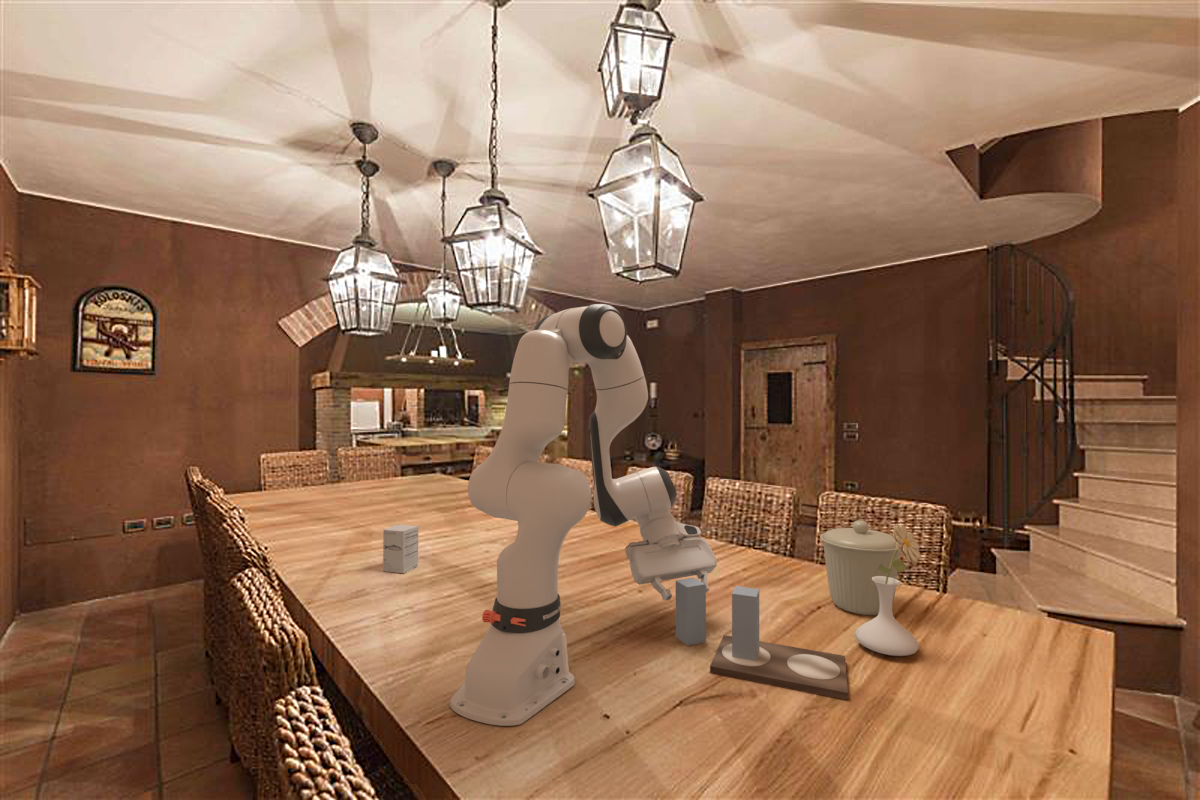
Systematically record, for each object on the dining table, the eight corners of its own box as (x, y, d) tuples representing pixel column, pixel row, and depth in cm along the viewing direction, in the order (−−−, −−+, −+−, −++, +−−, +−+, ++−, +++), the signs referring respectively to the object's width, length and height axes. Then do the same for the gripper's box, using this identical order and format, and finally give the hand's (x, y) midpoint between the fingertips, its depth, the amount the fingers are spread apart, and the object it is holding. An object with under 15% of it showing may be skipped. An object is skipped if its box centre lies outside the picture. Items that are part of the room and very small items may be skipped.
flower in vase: (885, 665, 99) (884, 533, 99) (842, 639, 110) (841, 520, 110) (939, 656, 103) (939, 528, 103) (893, 632, 114) (892, 516, 114)
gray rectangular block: (705, 641, 109) (705, 584, 109) (687, 645, 107) (687, 587, 107) (693, 633, 113) (693, 577, 113) (675, 636, 111) (675, 580, 111)
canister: (921, 623, 118) (920, 529, 118) (841, 623, 118) (840, 529, 118) (878, 593, 136) (877, 512, 136) (808, 594, 136) (808, 513, 136)
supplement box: (382, 572, 155) (382, 529, 155) (398, 564, 162) (398, 523, 162) (403, 574, 153) (403, 530, 153) (419, 566, 160) (419, 525, 160)
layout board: (847, 700, 88) (847, 691, 88) (710, 672, 97) (710, 664, 97) (844, 662, 100) (844, 654, 100) (723, 640, 110) (723, 634, 110)
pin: (756, 661, 98) (756, 596, 98) (732, 656, 100) (731, 593, 100) (759, 650, 102) (759, 589, 102) (735, 646, 104) (735, 585, 104)
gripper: (627, 536, 114) (649, 596, 105) (705, 526, 123) (731, 581, 114) (618, 551, 118) (639, 610, 109) (694, 541, 127) (719, 595, 118)
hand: (687, 595), depth 112 cm, fingers open, 8 cm apart
